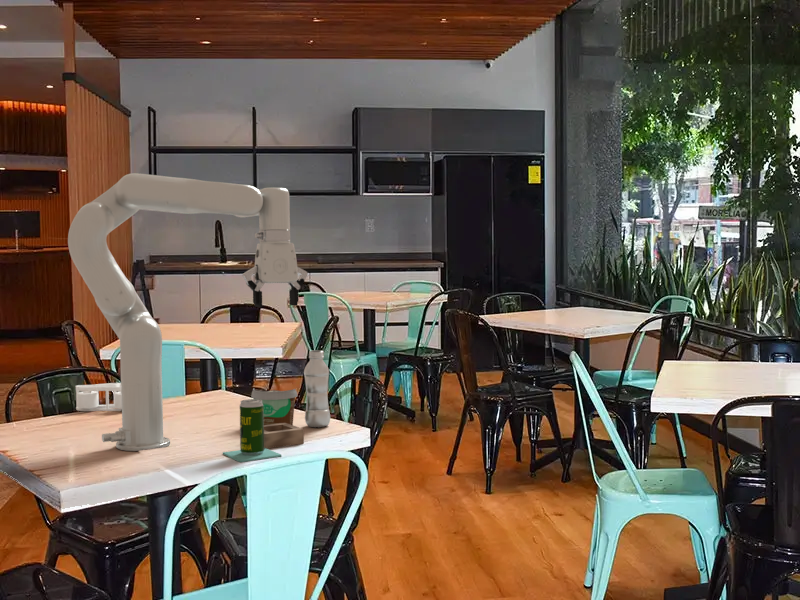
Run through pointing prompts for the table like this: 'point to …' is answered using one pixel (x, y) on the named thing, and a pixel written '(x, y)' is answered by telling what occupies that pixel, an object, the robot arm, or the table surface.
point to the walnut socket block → (282, 435)
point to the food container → (277, 405)
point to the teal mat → (243, 458)
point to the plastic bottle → (317, 390)
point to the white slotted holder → (90, 397)
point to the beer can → (251, 427)
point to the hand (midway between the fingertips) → (276, 306)
